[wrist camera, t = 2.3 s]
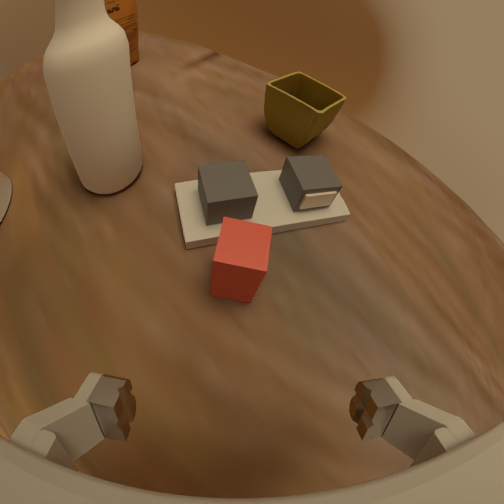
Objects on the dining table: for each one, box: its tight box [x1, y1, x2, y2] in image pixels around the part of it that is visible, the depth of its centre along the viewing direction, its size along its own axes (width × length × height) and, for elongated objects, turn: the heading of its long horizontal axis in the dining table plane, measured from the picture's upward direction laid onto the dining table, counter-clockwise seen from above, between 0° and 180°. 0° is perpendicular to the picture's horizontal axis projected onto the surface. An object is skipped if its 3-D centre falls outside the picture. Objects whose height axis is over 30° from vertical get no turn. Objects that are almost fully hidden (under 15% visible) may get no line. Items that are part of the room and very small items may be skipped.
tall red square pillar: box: [210, 217, 272, 303], centre depth 25 cm, size 4×4×8 cm
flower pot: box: [264, 72, 346, 149], centre depth 37 cm, size 9×9×9 cm
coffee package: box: [104, 0, 139, 66], centre depth 36 cm, size 10×12×22 cm
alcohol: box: [43, 0, 143, 194], centre depth 19 cm, size 9×9×30 cm
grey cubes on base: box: [175, 155, 350, 249], centre depth 31 cm, size 20×8×6 cm, turn 106°
